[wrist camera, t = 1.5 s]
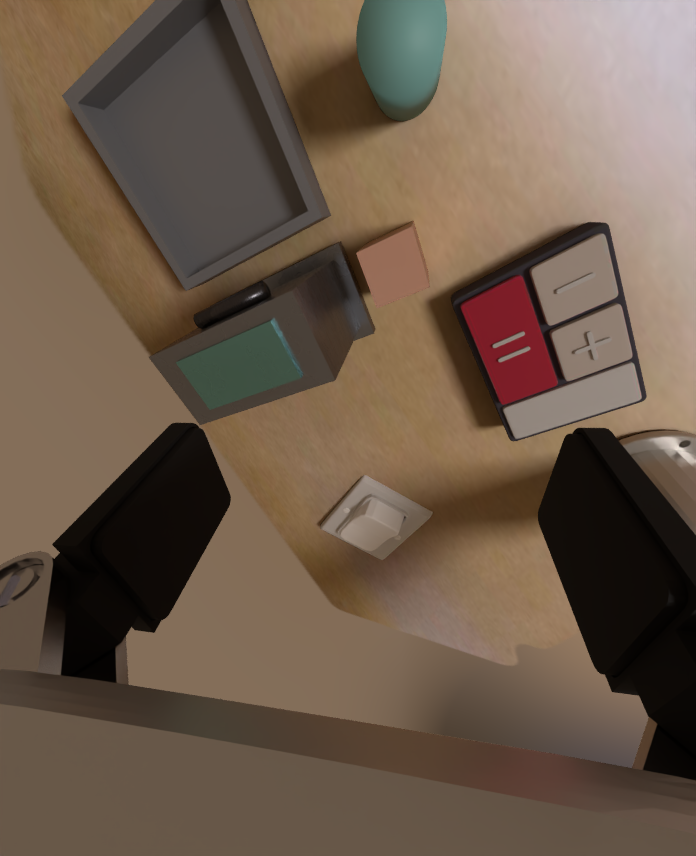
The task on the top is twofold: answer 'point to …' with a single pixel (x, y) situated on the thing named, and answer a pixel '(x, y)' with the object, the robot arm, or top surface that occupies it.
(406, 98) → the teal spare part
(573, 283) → the calculator
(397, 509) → the light switch
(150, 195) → the parts tray
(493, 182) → the top surface
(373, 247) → the terracotta block
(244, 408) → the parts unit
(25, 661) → the robot arm
